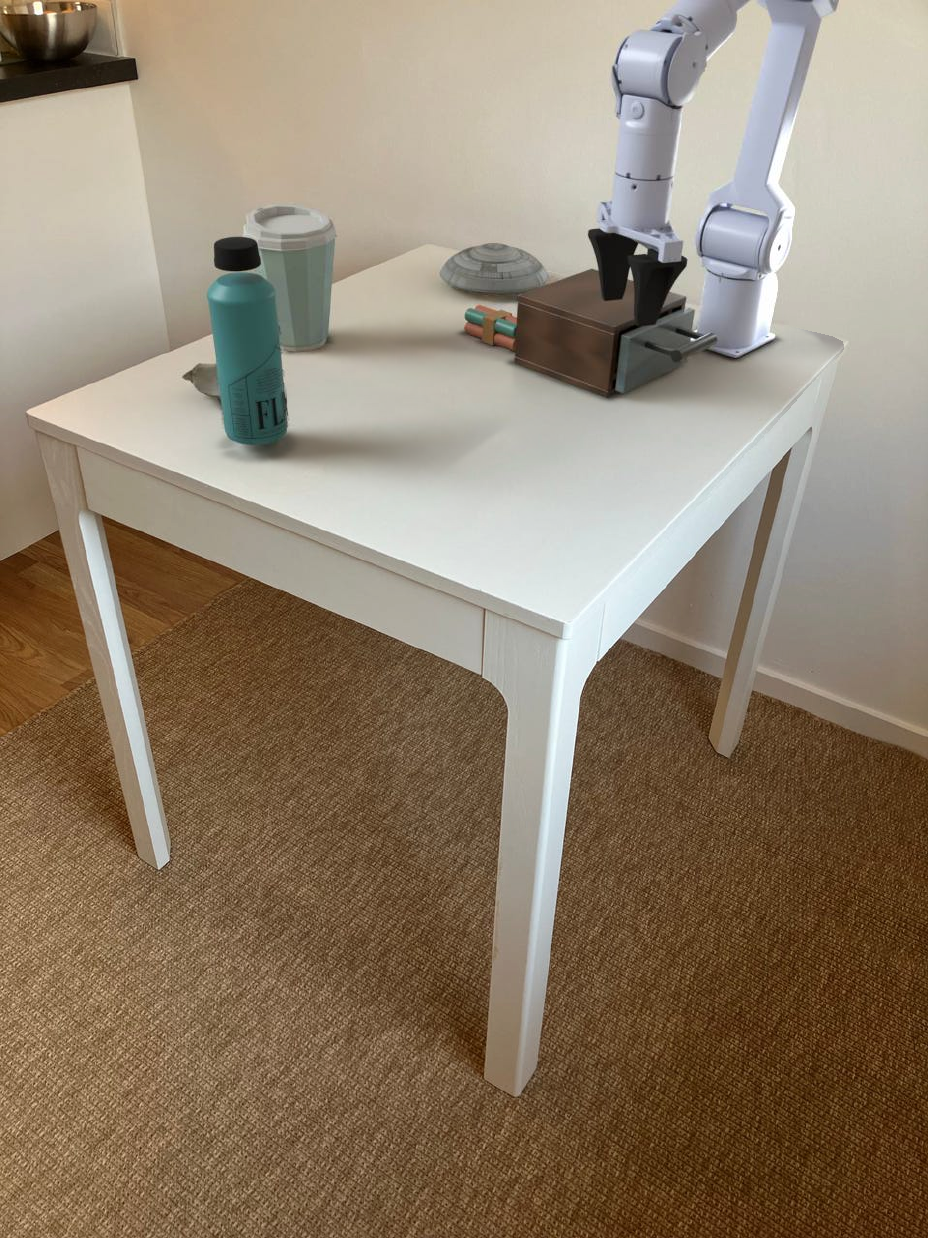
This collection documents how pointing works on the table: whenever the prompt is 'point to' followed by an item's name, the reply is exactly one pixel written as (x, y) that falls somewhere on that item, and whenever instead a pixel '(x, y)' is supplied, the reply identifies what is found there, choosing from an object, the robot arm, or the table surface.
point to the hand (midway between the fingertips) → (628, 311)
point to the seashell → (204, 379)
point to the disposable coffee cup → (296, 269)
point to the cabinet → (576, 330)
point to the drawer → (657, 348)
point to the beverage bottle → (247, 346)
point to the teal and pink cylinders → (491, 326)
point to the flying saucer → (494, 270)
